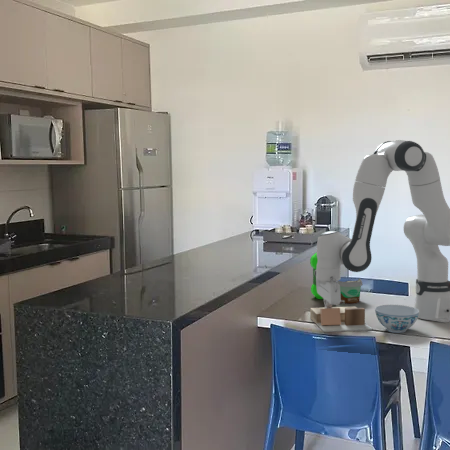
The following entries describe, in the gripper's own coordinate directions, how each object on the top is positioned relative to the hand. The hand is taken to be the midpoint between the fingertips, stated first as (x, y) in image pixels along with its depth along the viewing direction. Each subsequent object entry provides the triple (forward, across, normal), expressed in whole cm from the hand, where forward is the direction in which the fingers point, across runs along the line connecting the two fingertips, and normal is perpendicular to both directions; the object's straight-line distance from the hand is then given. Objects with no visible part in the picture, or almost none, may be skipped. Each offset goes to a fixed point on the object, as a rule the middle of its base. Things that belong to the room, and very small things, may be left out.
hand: (328, 311), depth 205 cm
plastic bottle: (+5, +42, -9) cm, 44 cm away
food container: (+5, +30, -19) cm, 36 cm away
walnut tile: (+1, -4, -9) cm, 10 cm away
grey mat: (+5, -5, -5) cm, 8 cm away
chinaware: (+5, -12, -22) cm, 25 cm away
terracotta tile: (+1, -3, 0) cm, 3 cm away
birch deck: (+5, +5, -4) cm, 8 cm away
